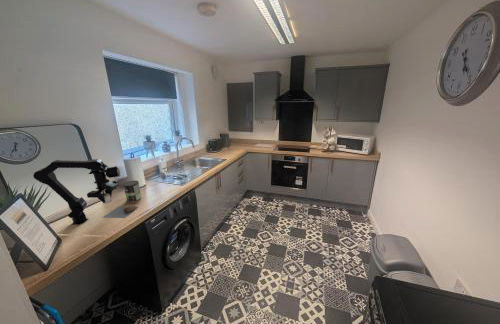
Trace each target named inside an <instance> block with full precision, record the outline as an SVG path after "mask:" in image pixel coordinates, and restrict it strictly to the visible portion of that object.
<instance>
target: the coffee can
mask: <svg viewBox="0 0 500 324" xmlns="http://www.w3.org/2000/svg"><path fill="white" fill-rule="evenodd" d="M122 186H123V189H124V193H125V194H124V195H125V198H126V201H127V202H128V203H133V202H137V201H140V200H141V199H142V192H141V188H140V183H139V181H138V180H130V181H126V182H124V183H123V184H122Z"/></svg>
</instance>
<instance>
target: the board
mask: <svg viewBox="0 0 500 324" xmlns="http://www.w3.org/2000/svg"><path fill="white" fill-rule="evenodd" d="M123 207H124V206H117V207H116V208H114V209H113V210H111V211H110V212H108V213H107V214H105V215H104V216H102V218H105V219H106V218H107V219H126V218H127V217H129V215H131V214H132V213H134V212H135V211H136V210H137V209H138V208H139V206H135V208H136V209H135V210H134V211H131V212H124V209H123Z"/></svg>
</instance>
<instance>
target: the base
mask: <svg viewBox="0 0 500 324" xmlns="http://www.w3.org/2000/svg"><path fill="white" fill-rule="evenodd" d="M122 207H123V209H124V212H131V211H133V212H135V211H136V210H137V209H136V208H135V207H136V205H135V204H133V203H130V204H126V205H125V206H122ZM135 209H136V210H135ZM134 210H135V211H134Z"/></svg>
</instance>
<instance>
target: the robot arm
mask: <svg viewBox="0 0 500 324" xmlns="http://www.w3.org/2000/svg"><path fill="white" fill-rule="evenodd" d="M57 169H86V170H90V172H88V174H89V175H93V177H94V180H95V181H94V182H93V183H94V184H95V185H96V187H95V190H91V191H89V192H87V193H86V197H87V198H90V199H94V198H95V199H96V198H97V199H98V200H100V201H101V202H102V204H106V203H105V199H104V195H105V193H106V194H108V193H109V194H110V197H111V198H112V194H113V191H115V190H117V188H118V187H119V186H120V185H119V181H118V180H114V181H110V179H111V178H117V177H120V176H121V172H120V169H119V167H118V166H116V165H115V166H110V167H109V166H108V165H107V164H105V163H104V161H103V160H102V159H100V158H96V159H95V158H94V159H88V160H61V159H56V160H54V161H51V163H50V164H47V166H45V167H43V168H39V169H38V170H36V171H35V172H34V173H33V178H34V179H35V180H36V181H37V182H39V183H41V184H43V185H46V186H48V187H50V188H51V189H52V190H53V191H54V192H55V193H56V194H57V195H58V196H60V198H61V199H63V200H64V201H65V202H67V205H68V207H69V209H70V212H69V214H68V215H67V216H68V218H70V219H72V223H71V224H70V225H74V226H75V225H77V226H80V225H82V224H84V223H86V222H87V221H88V220H89V218H87V216H86V213H85V212H84V211H85V209H86V208H87V205H88V203H87V200H85V199H84V198H83V197H82V196H81V197H77V196H75V195H74V193H72V192H71V191H70V190H69V189H68V188H67V187H66V186H65V185H64V184H63V183H62V182H60V181H59V180H58V179H57V175H56V173H55V172H54V171H56V170H57ZM109 178H110V179H109ZM103 192H104V193H103Z"/></svg>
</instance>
